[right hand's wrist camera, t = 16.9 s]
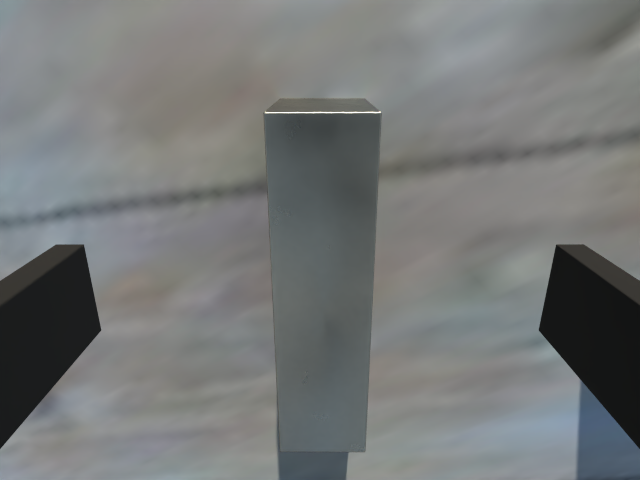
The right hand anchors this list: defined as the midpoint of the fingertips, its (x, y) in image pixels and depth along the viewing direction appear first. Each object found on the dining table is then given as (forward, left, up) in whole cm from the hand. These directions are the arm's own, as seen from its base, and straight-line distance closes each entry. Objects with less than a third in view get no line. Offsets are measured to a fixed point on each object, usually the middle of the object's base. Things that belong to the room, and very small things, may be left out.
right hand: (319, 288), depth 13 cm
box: (-6, +4, -20) cm, 21 cm away
